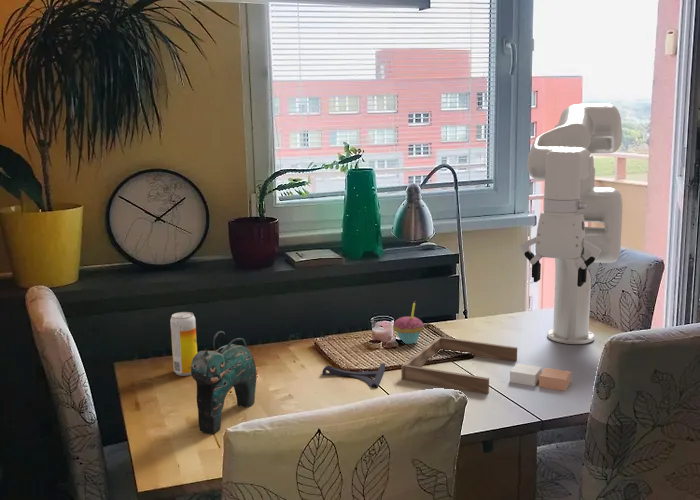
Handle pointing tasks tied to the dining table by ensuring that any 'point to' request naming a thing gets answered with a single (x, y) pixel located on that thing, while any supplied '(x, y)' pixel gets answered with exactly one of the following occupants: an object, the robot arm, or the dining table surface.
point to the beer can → (183, 342)
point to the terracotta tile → (555, 379)
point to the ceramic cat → (222, 381)
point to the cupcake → (408, 328)
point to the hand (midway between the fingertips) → (558, 283)
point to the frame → (450, 379)
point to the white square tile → (525, 374)
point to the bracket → (359, 374)
